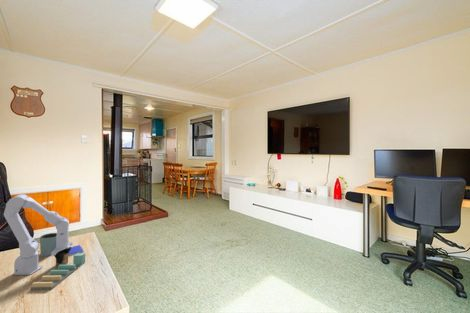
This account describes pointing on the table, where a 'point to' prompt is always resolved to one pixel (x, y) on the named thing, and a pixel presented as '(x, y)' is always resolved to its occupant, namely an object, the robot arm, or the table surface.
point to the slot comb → (54, 277)
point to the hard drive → (75, 250)
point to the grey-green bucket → (47, 243)
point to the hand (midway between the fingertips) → (62, 261)
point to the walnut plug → (65, 260)
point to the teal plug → (79, 259)
